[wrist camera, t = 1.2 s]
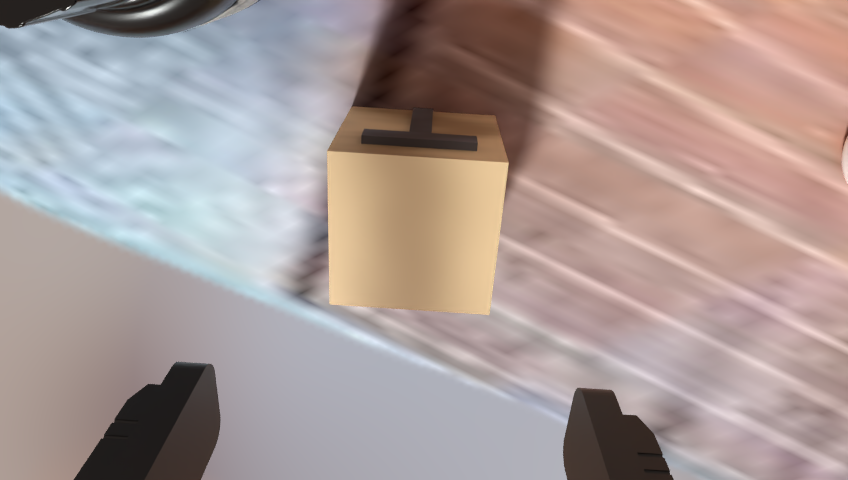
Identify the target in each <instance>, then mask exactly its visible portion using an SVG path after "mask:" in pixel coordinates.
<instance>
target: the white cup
mask: <svg viewBox="0 0 848 480" xmlns="http://www.w3.org/2000/svg"><path fill="white" fill-rule="evenodd" d="M841 163H842V171H843V175H844V178H845V180H846V182H847V184H848V136H847V138H846V141H845V143H844V147H843V151H842V161H841Z"/></svg>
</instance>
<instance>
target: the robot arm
mask: <svg viewBox="0 0 848 480" xmlns="http://www.w3.org/2000/svg"><path fill="white" fill-rule="evenodd" d="M219 430H220V410H219V402H218V394H217V387H216V377H215V370H214V367H213V365H211V364H204V363H187V362H176V363H175V364H174V365H173V366H172V367H171V369H170V371H169V372H168V374H167V375H166V377H165V379H164V380H163V382H162V384H161V385H155V384H148V385H146V386H145V387H144V388H142V389H141V390H140V391H138V392H137V393H136V394H135V395H133V396H132V397H131V398H130V399H128V400H127V402H126V403H125V405H124V406H123V407H122V409H121V410H120V412H119V413H118V415H117V416H116V418H115V422H114V423H112V424H111V425H110V427H109V428H108V430H107V431H106V433H105V434H104V438H103V439H101V440H100V441H99V443H98V445H97V446H96V447H95V449H94V451H93V452H92V453H91V455H90V456H89V458H88V459H87V461H86V462H85V464H84V465H83V467H82V468H81V470H80V471H79V473H78V474H77V476H76V477H75V479H74V480H201V478H202V475H203V473H204V471H205V469H206V466H207V464H208V462H209V460H210V457H211V455H212V453H213V450H214V448H215V446H216V443H217V440H218V435H219ZM563 456H564V457H563V458H564V467H565V472H566V475H567V480H673V477H672V475H670V470H669V468H668V465H667V463H666V461H665V459H664V458H663V457H662V452H661V449H660V447H659V445H658V442H657V440H656V438H655V435H654V434H653V432H652V431H651V430H650V429H649V428H648V427H647V426H646V425H645V424H644V423H643V422H642V421H641V420H640V419H639V418H638V416H636V415H623V414H622V412H621V409H620V407H619V404H618V401H617V399H616V396H615V394H614V392H613V391H612V390H603V389H587V388H577V389H576V391H575V393H574V397H573V402H572V406H571V411H570V415H569V420H568V424H567V429H566V433H565V438H564V446H563Z"/></svg>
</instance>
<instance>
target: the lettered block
mask: <svg viewBox="0 0 848 480" xmlns="http://www.w3.org/2000/svg"><path fill="white" fill-rule="evenodd" d="M508 165H509V162H508V158H507V155H506V152H505V148H504V145H503V141H502V138H501V134H500V131H499V127H498V124H497V120H496V117H495V116H494V115H479V114H463V113H448V112H433V109H428V108H413V110H401V109H386V108H370V107H355V106H352V107H351V109H350V111H349V112H348V114H347V116H346V118H345V120H344V122H343V123H342V125H341V127H340V129H339V131H338V132H337V134H336V136H335V138H334V140H333V141H332V143H331V145H330V147H329V149H328V151H327V168H328V232H329V296H330V304H332V305H347V306H362V307H378V308H393V309H408V310H424V311H439V312H454V313H470V314H485V315H489V314H490V306H491V298H492V290H493V282H494V275H495V267H496V259H497V251H498V243H499V235H500V227H501V220H502V212H503V204H504V196H505V188H506V180H507V172H508Z"/></svg>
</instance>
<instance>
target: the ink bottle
mask: <svg viewBox="0 0 848 480" xmlns="http://www.w3.org/2000/svg"><path fill="white" fill-rule="evenodd" d="M258 1H260V0H0V25H2V26H5V27H6V28H20V27H25V26H30V25H34V24H39V23H44V22H49V21H54V20H58V19H62V20H64V21H67V22H69V23H71V24H74V25H76V26H79V27H82V28H84V29H88V30H91V31H94V32H98V33H103V34H107V35H113V36H120V37H134V38H143V37H157V36H164V35H169V34H173V33H178V32H181V31H184V30H187V29H190V28H193V27H196V26H198V27H199V25H201V26H202V24H203V25H205V24H207V23H210V22H213V21H216V20H219V19H222V18H224V17H227V16H230V15H232V14H235V13H237V12H239V11H241V10H243V9H246V8H248V7H250V6H252V5H253V4H255V3H257V2H258ZM204 23H205V24H204ZM193 29H194V28H193ZM190 30H191V29H190ZM187 31H188V30H187Z"/></svg>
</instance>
